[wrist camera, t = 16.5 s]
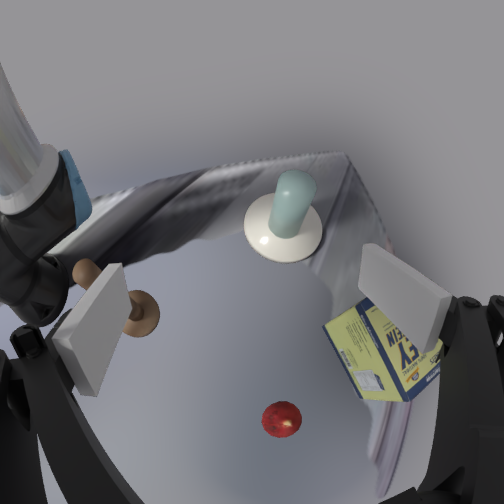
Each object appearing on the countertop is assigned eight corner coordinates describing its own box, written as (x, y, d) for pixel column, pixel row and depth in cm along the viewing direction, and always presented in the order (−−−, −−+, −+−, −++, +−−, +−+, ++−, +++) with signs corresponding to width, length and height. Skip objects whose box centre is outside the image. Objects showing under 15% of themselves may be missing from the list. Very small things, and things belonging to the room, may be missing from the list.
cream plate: (244, 263, 49) (244, 261, 48) (243, 195, 55) (243, 191, 54) (325, 263, 50) (327, 260, 49) (314, 197, 56) (316, 194, 55)
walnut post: (115, 335, 41) (50, 304, 23) (119, 291, 45) (63, 238, 27) (158, 338, 42) (110, 310, 24) (161, 292, 45) (120, 237, 27)
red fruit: (266, 437, 36) (273, 449, 29) (254, 406, 38) (259, 413, 31) (300, 424, 37) (314, 433, 30) (288, 394, 40) (300, 398, 32)
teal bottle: (269, 238, 50) (280, 199, 39) (267, 210, 53) (276, 168, 42) (301, 239, 50) (319, 200, 40) (297, 211, 53) (313, 171, 42)
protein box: (365, 299, 48) (411, 266, 34) (401, 368, 42) (457, 357, 28) (319, 325, 45) (358, 301, 31) (359, 400, 39) (411, 404, 25)
